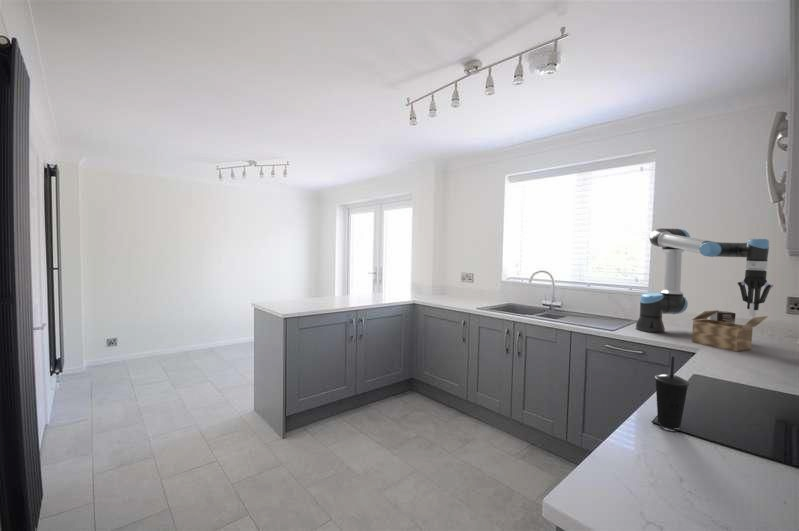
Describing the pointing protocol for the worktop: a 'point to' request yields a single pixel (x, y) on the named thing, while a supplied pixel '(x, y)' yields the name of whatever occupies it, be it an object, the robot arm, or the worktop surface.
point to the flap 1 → (705, 315)
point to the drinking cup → (670, 398)
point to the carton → (722, 335)
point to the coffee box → (723, 317)
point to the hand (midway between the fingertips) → (752, 316)
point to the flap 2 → (754, 322)
